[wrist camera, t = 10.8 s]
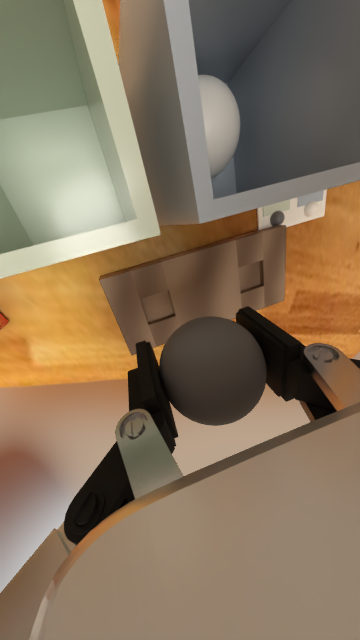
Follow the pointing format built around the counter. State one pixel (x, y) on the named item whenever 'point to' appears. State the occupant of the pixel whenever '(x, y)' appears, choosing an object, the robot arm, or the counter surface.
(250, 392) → the charcoal ball
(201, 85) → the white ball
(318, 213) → the card
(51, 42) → the sage pot
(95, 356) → the counter surface
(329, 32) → the slate pot
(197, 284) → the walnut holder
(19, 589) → the robot arm
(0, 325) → the cracker box
